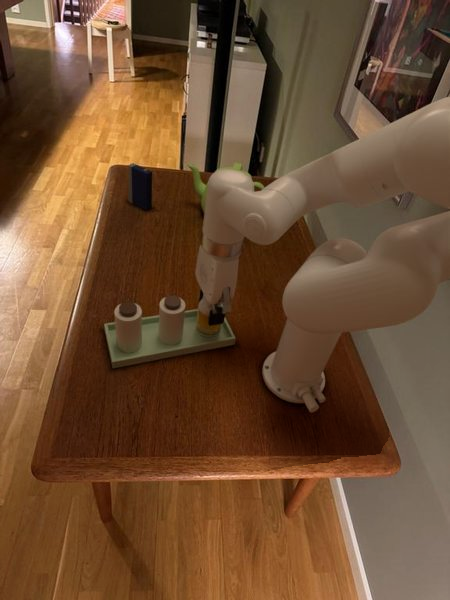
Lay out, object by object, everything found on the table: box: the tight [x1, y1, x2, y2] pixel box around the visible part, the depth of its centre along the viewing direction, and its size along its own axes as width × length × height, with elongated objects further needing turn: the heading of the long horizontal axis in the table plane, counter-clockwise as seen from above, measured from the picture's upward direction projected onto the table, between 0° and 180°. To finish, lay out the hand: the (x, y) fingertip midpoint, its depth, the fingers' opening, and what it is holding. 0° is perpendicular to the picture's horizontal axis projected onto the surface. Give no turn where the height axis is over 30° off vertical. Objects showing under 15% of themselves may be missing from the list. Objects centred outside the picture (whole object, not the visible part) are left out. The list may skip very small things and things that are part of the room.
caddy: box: [103, 308, 237, 369], centre depth 83 cm, size 25×10×2 cm, turn 111°
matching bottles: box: [113, 295, 186, 353], centre depth 79 cm, size 5×14×10 cm, turn 111°
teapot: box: [185, 162, 266, 213], centre depth 120 cm, size 19×20×14 cm
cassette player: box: [127, 162, 153, 212], centre depth 117 cm, size 7×2×12 cm, turn 56°
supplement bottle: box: [196, 295, 223, 337], centre depth 83 cm, size 5×5×10 cm
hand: (210, 312), depth 83 cm, fingers closed on supplement bottle, 5 cm apart
